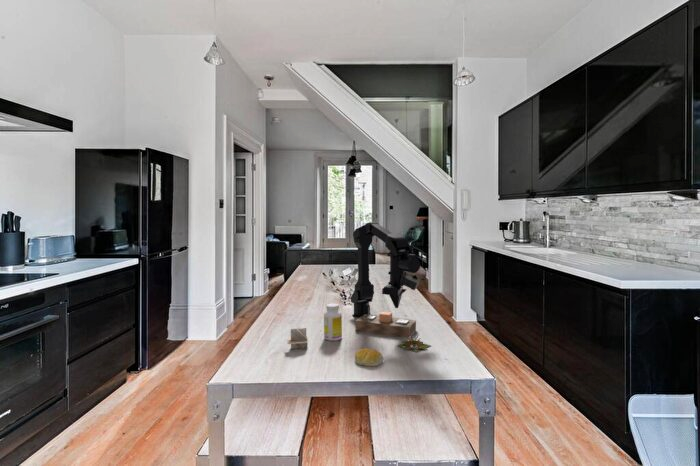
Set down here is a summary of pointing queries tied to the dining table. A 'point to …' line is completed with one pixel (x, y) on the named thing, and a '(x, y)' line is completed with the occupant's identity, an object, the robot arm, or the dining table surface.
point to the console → (386, 327)
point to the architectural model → (298, 338)
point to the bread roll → (368, 357)
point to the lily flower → (413, 342)
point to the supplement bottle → (332, 323)
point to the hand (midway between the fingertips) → (396, 307)
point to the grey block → (402, 322)
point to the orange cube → (385, 317)
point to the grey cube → (369, 317)
